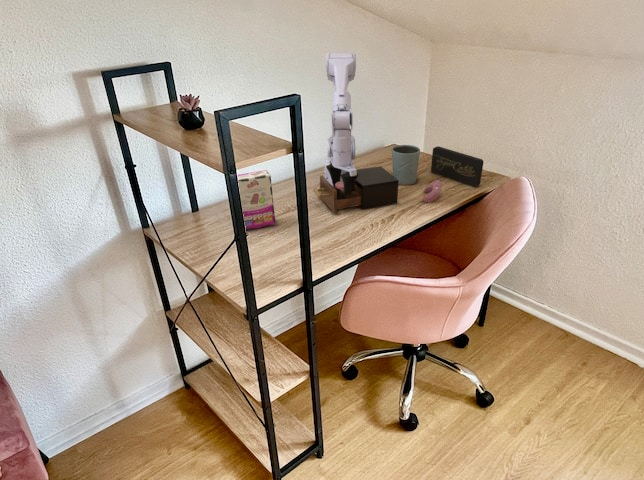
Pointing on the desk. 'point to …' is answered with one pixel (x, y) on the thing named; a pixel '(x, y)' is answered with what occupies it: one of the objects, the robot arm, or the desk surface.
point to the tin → (340, 191)
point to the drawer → (330, 196)
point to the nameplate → (457, 166)
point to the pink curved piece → (432, 191)
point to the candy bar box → (257, 199)
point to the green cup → (405, 163)
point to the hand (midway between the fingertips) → (342, 189)
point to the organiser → (377, 187)
